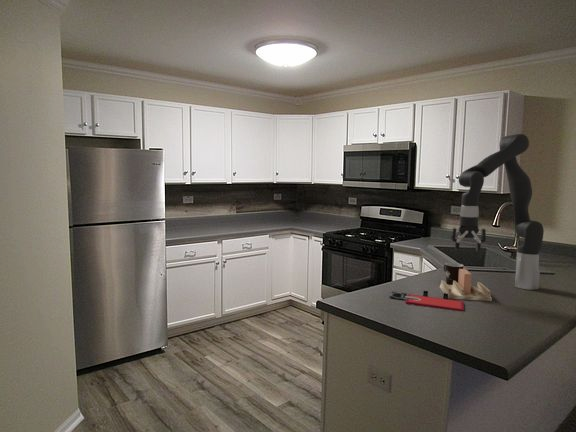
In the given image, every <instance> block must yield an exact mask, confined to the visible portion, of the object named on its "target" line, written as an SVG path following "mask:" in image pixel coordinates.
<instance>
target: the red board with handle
mask: <svg viewBox="0 0 576 432" xmlns="http://www.w3.org/2000/svg"><path fill="white" fill-rule="evenodd" d="M422 294H423V295H418V294H412V293H403V292H398V291H391V292H390V295H389V298H393V299H401V300H404V301H405V304H406V303H407V304H406V305H411V304H414V305H413V306H419V305H420V307H426V306H428V308H434V307H435V308H437V309H443V310H449V311H456V312H457V311H459V312H465V311H464V310H465V307H464V306H465V305H464V301H463V300H458V299H448V294H446V293H444V292H443V295H442V296H443V297H442V298H441V297H434V296H433V297H432V296H429V291H428V290H423V293H422Z"/></svg>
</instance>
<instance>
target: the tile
mask: <svg viewBox="0 0 576 432" xmlns="http://www.w3.org/2000/svg"><path fill="white" fill-rule="evenodd" d="M472 276H473V275H472V273H471V272H470V271H469V270H467V269H466V268H463V269H459V277H458V284H459V285H460V286H461V287H462V288H463V289H464V294H471V285H472V279H473V278H472Z"/></svg>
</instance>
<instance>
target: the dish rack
mask: <svg viewBox="0 0 576 432" xmlns="http://www.w3.org/2000/svg"><path fill="white" fill-rule="evenodd" d="M476 284H477V285H473V284H471V294H464V289H463V288H462V287H461V286H460V285H459V284H458V283H457V282H456V281H453V285H448V284H446V280H443V279H441V281H440V284H439V289H440V290H441V291H442V293H443V294H444V293H446V294H448V299H449V300H469V301H470V300H471V301H483V302H493V301H492V300H493V297H492V296H491V295H492V291H491V290H490V289H489V288H488V287H487V286H485V285H484V284H483V283H481V282H480V281H477V283H476Z"/></svg>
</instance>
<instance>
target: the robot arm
mask: <svg viewBox="0 0 576 432" xmlns="http://www.w3.org/2000/svg"><path fill="white" fill-rule="evenodd" d="M529 147H530V139H529V138H528V136H527V135H526V134H523V133H516V134H511V135H510V134H509V135H506V136H503V137H501V138H500V141H499V151H498V150H497V151H496V152H494V153H492V154H490V155H488V156H486V157H485V158H484V159H482V160H481V161H479V162H478V163H477V164H475V165H473V166H471V167H469V168H467V169H465V170H463V171H462V172H461V174H460V175H459V176H458V183H459V185H460V186H462V187H464V188H469V190H468V191H466V192H463V193H462V194H461V204H460V205H461V206H460V212H459V216H460V217H459V228H455V227H452V228H451V235H450V240H451V241H452V242H454V248H455V250H456V251H457V252H460V241H462V240H463V238H464V239H469V238H470V239H474V240H475V241H476V243H475V245H476V246H475V252H480V251H481V249H482V248H481V247H482V243H485V242H486V241H487V240H486V238H487V237H486V236H487V235H486V233H487V232H486V228H479V213H480V212H479V211H480V210H479V203H480V202H479V200H480V199H479V198H480V195H481V191H482V188H483V186H484V184H485V178H486V177H487V178H488V176H490V175H491V174H492V173H494V172H495V171H496V170H497V169H499V168H500V167H501V166H503V165H504V169H505V173H506V176H507V177H506V178H507V182H508V188H509V193H510V194H509V195H510V198H511V203H512V205H511V206H512V208H513V209H512V210H513V218H514V219H513V220H514V229H515V230H514V231H515V233H516V235H517V236H518V237H520V238H522V239H524V240H523V243H522V244H521V245H518V246H517V247H516V248H517V249H516V250H517V251H516V263H515V265H516V266H515V277H514V278H515V280H514V287H516V288H519V289H522V290H539V288H540V287H539V285H540V276H541V275H540V271H541V270H540V269H539V262H540V261H539V259H540V258H539V257H540V251H541V249H542V246H543V239H544V232H545V231H544V226H543V224H542V223H541V222H539V221H537V220H531V218H530V213H529V206H530V203H531V201H532V196H533V186H532V183H531V179H530V176H528V174H527V173H526V172H525V171H524V169H522V167H521V166H520V164H519V163H518V160H517V156H519V155H521V154H523V153H525V152H526V151H527V150H528V149H529ZM457 233H459V235H458V236H457V237H456V235H457ZM478 233H479V234H480V237H479V236H478V235H477V234H478Z"/></svg>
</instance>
